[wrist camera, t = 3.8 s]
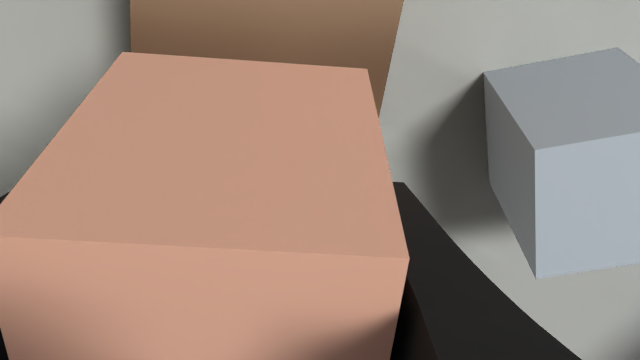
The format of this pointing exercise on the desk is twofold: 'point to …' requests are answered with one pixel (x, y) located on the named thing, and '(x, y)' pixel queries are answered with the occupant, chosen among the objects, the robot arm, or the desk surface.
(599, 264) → the slate grey block
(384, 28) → the walnut base block
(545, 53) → the desk surface
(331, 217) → the terracotta block
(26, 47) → the desk surface
